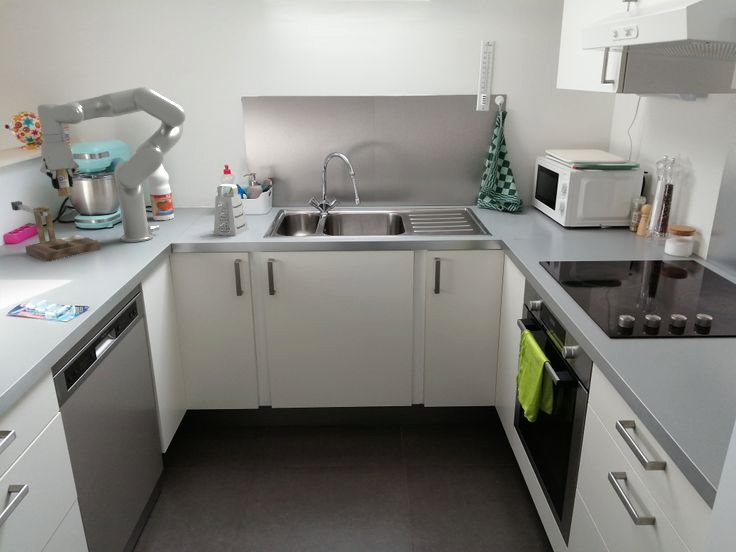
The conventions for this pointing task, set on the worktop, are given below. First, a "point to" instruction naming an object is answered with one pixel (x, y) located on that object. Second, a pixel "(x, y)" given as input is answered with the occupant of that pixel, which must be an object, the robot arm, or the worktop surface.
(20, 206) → the bolt
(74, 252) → the brown wooden frame
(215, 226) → the grater
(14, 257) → the worktop surface
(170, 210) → the fruit juice
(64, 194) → the sprinkles bottle
